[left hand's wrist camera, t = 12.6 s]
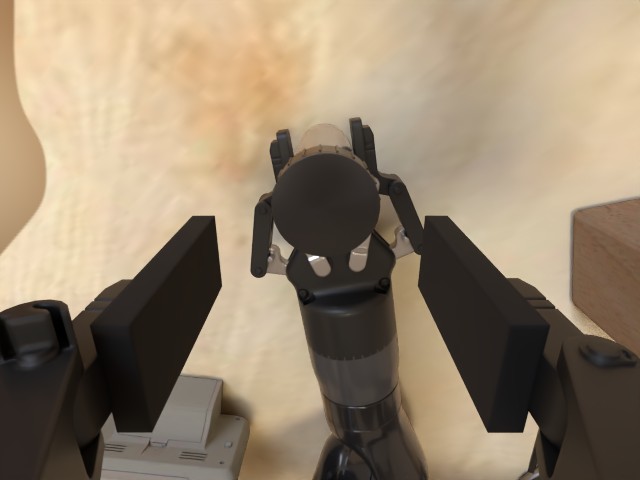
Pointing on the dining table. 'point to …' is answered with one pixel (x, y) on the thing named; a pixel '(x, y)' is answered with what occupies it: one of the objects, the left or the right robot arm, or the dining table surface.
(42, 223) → the dining table surface
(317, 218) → the lid
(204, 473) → the digital clock
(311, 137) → the blue-grey cylinder
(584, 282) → the wooden block
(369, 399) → the right robot arm
